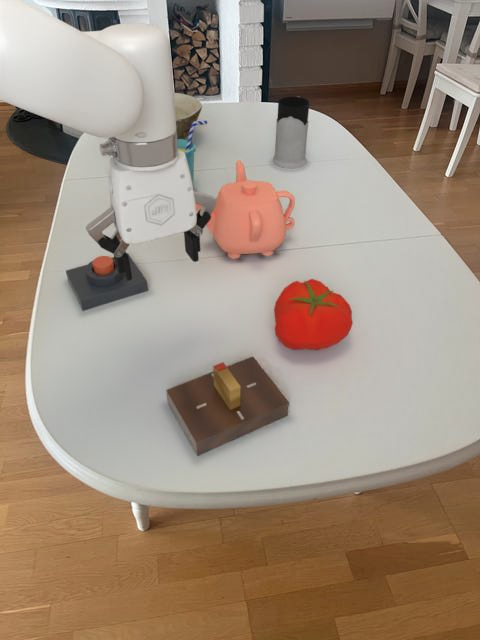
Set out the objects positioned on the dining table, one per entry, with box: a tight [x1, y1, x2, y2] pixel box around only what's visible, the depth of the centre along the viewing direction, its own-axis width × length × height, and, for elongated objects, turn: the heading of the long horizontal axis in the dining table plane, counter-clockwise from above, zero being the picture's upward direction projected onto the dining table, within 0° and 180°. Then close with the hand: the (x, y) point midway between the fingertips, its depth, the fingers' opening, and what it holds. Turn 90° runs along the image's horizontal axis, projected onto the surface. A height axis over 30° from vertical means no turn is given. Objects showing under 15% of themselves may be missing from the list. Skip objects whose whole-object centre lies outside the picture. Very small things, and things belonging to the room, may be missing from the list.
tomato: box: [273, 278, 353, 351], centre depth 82 cm, size 14×13×9 cm
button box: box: [65, 252, 149, 311], centre depth 94 cm, size 12×10×4 cm
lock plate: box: [165, 355, 290, 457], centre depth 73 cm, size 14×10×3 cm
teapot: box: [196, 160, 296, 259], centre depth 102 cm, size 16×17×14 cm
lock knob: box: [212, 362, 241, 410], centre depth 70 cm, size 5×2×4 cm, turn 28°
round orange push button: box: [91, 255, 114, 275], centre depth 92 cm, size 4×4×2 cm
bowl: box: [174, 92, 203, 140], centre depth 141 cm, size 24×24×10 cm
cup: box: [177, 120, 208, 185], centre depth 119 cm, size 14×8×15 cm, turn 129°
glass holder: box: [272, 95, 310, 169], centre depth 132 cm, size 9×14×15 cm, turn 166°
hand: (159, 265), depth 72 cm, fingers open, 9 cm apart
